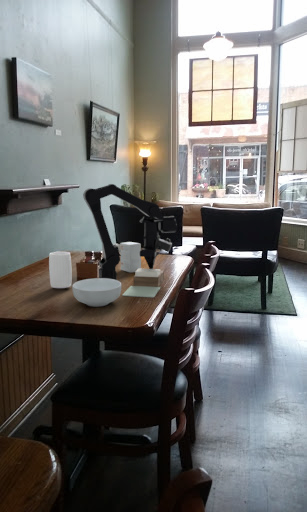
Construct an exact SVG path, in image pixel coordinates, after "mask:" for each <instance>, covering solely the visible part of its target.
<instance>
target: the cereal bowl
mask: <svg viewBox="0 0 307 512" xmlns="http://www.w3.org/2000/svg"><path fill="white" fill-rule="evenodd" d="M71 287H72V288H71V290H72V294H73V297H74V298H75V299H76V300H77V301H78V302H80V303H83V304H84V305H85V304H86V305H87V306H88V307H93V308H94V307H104V306H105V307H106V306H107V305H109V304H110V303H113V302H115V301H116V300H117V299H118V298H119V297H120V296H121V294H122V282H121V281H120V280H118V279H117V280H114V279H108V278H99V277H95V278H86V279H82V280H78V281H76V282H73V284H71Z"/></svg>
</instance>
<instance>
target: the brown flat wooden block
mask: <svg viewBox="0 0 307 512" xmlns="http://www.w3.org/2000/svg"><path fill="white" fill-rule="evenodd" d="M164 280H165V270H164V269H160V275H159V276H158V277H138V276H135V275H133V286H147V287H161V285H162V284H163V282H164Z"/></svg>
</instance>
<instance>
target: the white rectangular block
mask: <svg viewBox="0 0 307 512" xmlns="http://www.w3.org/2000/svg"><path fill="white" fill-rule="evenodd" d="M160 270H161V268H159V269H158V268H153V269H149V268H142V267H141V268H139V269H137V270H136V271H135V272H134V273H135V275H134V276H138V277H158V276H159V275H160Z"/></svg>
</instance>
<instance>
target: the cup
mask: <svg viewBox="0 0 307 512" xmlns="http://www.w3.org/2000/svg"><path fill="white" fill-rule="evenodd" d="M48 257H49V258H48V268H49V270H48V271H49V272H48V273H49V282H50V287H51V288H54V289H65V288H69V287H72V280H73V279H72V278H73V277H72V276H73V275H72V274H73V273H72V271H73V270H72V257H71V252H69V251H62V250H61V251H60V250H59V251H52V252H49V254H48Z"/></svg>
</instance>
